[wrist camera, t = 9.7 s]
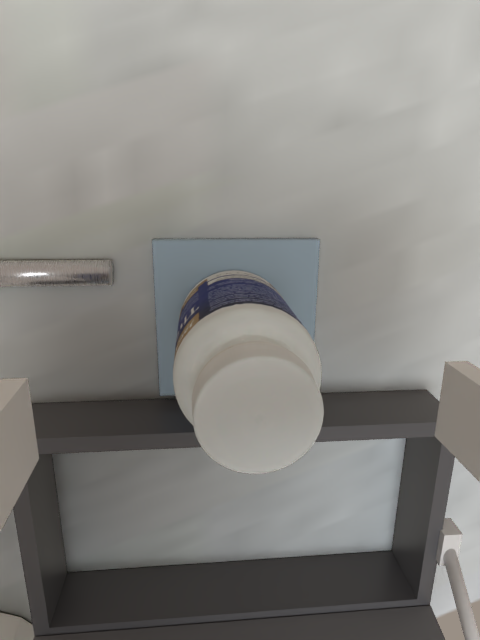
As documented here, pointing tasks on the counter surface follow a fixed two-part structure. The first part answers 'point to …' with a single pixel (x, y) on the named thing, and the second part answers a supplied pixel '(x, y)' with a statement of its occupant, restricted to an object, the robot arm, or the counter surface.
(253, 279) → the pill bottle
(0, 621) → the white cup
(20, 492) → the robot arm
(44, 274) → the rod
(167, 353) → the mat
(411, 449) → the case
